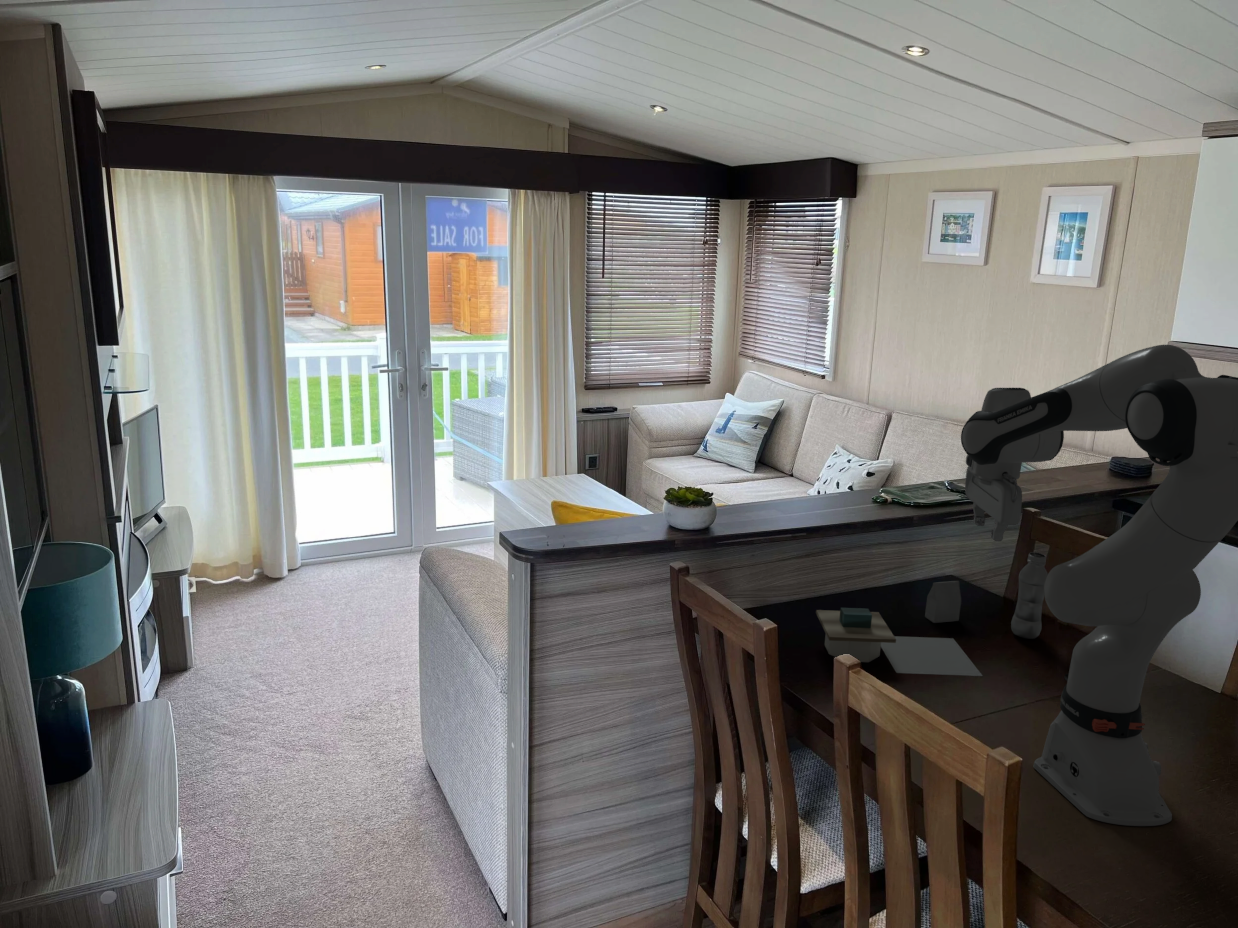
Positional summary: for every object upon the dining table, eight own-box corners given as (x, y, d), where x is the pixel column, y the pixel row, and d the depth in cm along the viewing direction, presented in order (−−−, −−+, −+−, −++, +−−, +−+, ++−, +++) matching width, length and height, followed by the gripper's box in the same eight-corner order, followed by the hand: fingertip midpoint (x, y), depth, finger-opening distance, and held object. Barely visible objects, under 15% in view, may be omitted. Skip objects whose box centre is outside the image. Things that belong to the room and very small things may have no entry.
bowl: (883, 665, 195) (886, 639, 193) (831, 663, 195) (834, 637, 193) (870, 642, 205) (872, 617, 204) (821, 640, 205) (823, 616, 204)
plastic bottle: (1033, 630, 214) (1046, 550, 210) (1044, 643, 208) (1057, 561, 203) (1005, 628, 215) (1017, 548, 210) (1014, 641, 209) (1027, 559, 204)
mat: (982, 678, 190) (982, 675, 190) (896, 675, 190) (896, 672, 190) (952, 640, 208) (953, 638, 208) (873, 637, 208) (874, 635, 208)
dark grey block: (958, 623, 218) (963, 583, 215) (933, 625, 216) (938, 585, 213) (948, 616, 221) (954, 578, 218) (924, 618, 219) (929, 580, 217)
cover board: (895, 642, 192) (897, 626, 191) (829, 640, 192) (830, 623, 191) (878, 615, 205) (879, 599, 204) (815, 613, 205) (817, 597, 204)
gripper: (1035, 481, 172) (1024, 550, 175) (993, 454, 192) (984, 517, 195) (1001, 479, 172) (991, 549, 175) (963, 453, 192) (954, 516, 195)
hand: (987, 532), depth 185 cm, fingers open, 8 cm apart
